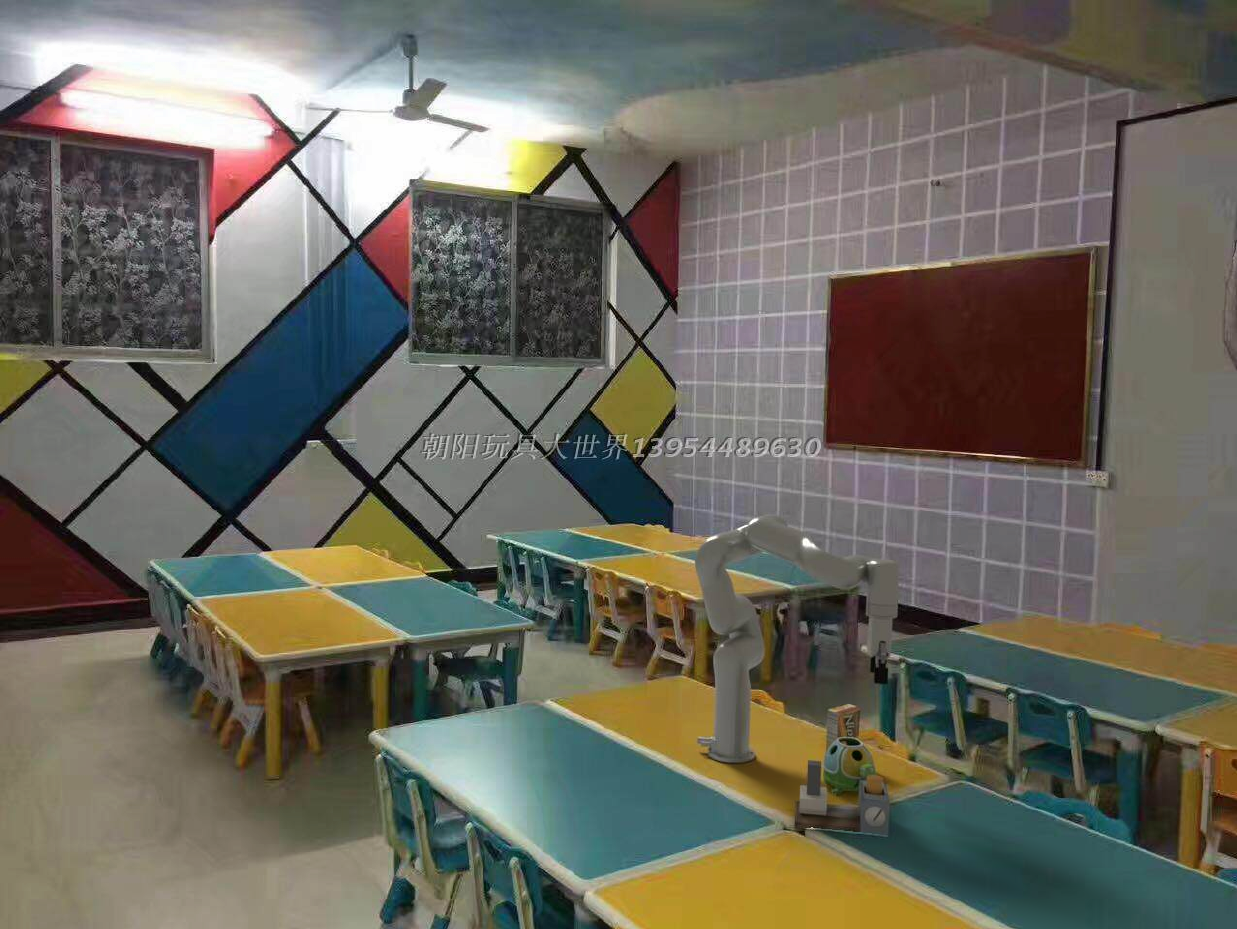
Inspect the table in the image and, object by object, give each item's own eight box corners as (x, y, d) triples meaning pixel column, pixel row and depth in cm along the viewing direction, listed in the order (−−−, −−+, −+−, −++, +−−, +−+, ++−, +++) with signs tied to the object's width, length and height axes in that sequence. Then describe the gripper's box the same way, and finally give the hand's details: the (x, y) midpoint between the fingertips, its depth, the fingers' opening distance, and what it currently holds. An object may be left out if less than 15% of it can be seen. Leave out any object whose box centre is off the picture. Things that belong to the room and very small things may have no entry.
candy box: (845, 759, 278) (848, 703, 277) (858, 764, 275) (860, 707, 274) (824, 766, 272) (826, 709, 271) (837, 771, 269) (839, 713, 268)
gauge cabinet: (860, 835, 230) (862, 800, 230) (858, 813, 243) (859, 779, 242) (888, 838, 229) (889, 803, 229) (884, 815, 241) (886, 782, 241)
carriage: (799, 815, 235) (801, 767, 234) (799, 802, 243) (801, 755, 242) (826, 818, 234) (828, 770, 233) (825, 804, 242) (827, 758, 241)
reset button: (866, 797, 234) (867, 779, 234) (865, 791, 238) (866, 774, 237) (882, 798, 234) (883, 781, 233) (881, 792, 237) (882, 775, 237)
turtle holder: (846, 808, 245) (848, 759, 244) (813, 779, 263) (815, 733, 262) (893, 804, 248) (895, 755, 247) (858, 776, 266) (860, 730, 265)
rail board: (794, 827, 233) (794, 812, 233) (795, 806, 245) (795, 792, 245) (860, 834, 231) (861, 819, 231) (858, 813, 243) (858, 798, 242)
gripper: (863, 601, 265) (860, 667, 266) (869, 616, 247) (866, 686, 249) (893, 603, 263) (890, 669, 265) (901, 618, 246) (898, 688, 248)
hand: (878, 677), depth 257 cm, fingers open, 9 cm apart
